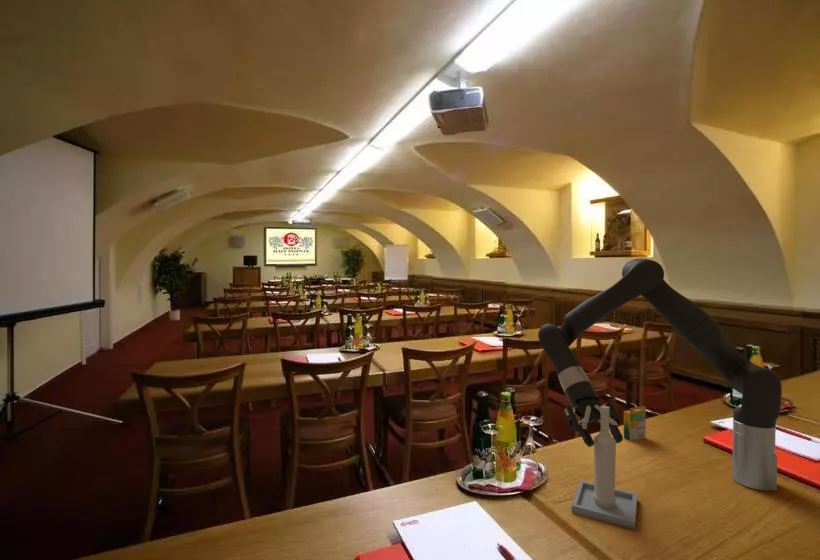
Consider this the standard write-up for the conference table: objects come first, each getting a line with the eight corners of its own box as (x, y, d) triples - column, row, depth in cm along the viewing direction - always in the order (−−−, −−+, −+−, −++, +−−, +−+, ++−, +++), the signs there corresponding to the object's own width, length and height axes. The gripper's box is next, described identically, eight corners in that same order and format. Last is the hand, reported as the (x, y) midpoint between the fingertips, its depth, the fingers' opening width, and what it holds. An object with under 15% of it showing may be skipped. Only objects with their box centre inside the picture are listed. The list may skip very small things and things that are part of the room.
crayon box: (639, 435, 150) (639, 403, 150) (646, 438, 147) (646, 406, 147) (623, 437, 148) (623, 405, 148) (629, 441, 145) (630, 408, 145)
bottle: (614, 499, 108) (614, 404, 107) (617, 510, 103) (617, 411, 103) (592, 496, 110) (592, 402, 109) (594, 506, 105) (594, 409, 104)
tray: (637, 500, 109) (637, 493, 109) (635, 529, 97) (635, 522, 97) (580, 486, 116) (580, 480, 116) (571, 512, 104) (571, 505, 104)
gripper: (560, 381, 112) (589, 441, 101) (605, 377, 115) (637, 434, 105) (549, 395, 117) (575, 453, 106) (592, 391, 121) (621, 446, 110)
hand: (606, 443), depth 105 cm, fingers open, 8 cm apart
